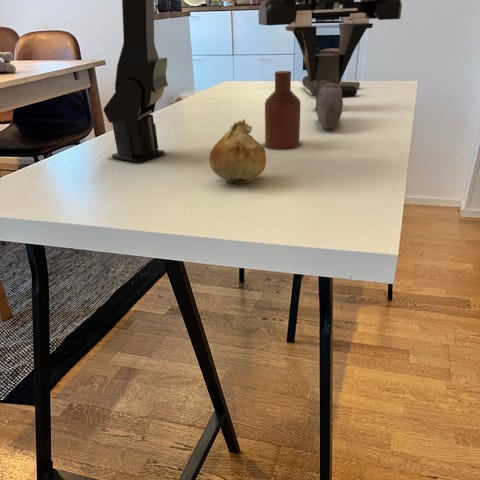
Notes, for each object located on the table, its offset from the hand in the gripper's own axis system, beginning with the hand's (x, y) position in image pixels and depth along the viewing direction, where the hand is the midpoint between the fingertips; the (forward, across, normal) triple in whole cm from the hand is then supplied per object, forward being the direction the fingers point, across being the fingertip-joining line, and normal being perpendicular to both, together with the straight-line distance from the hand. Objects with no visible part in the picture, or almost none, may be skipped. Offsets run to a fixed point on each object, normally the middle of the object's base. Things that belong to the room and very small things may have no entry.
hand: (325, 80), depth 70 cm
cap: (0, 0, 0) cm, 0 cm away
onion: (+11, +15, +8) cm, 20 cm away
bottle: (+11, +4, -10) cm, 16 cm away
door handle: (+11, -23, -62) cm, 67 cm away
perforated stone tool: (+11, -9, -22) cm, 26 cm away
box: (+11, -14, -39) cm, 43 cm away
